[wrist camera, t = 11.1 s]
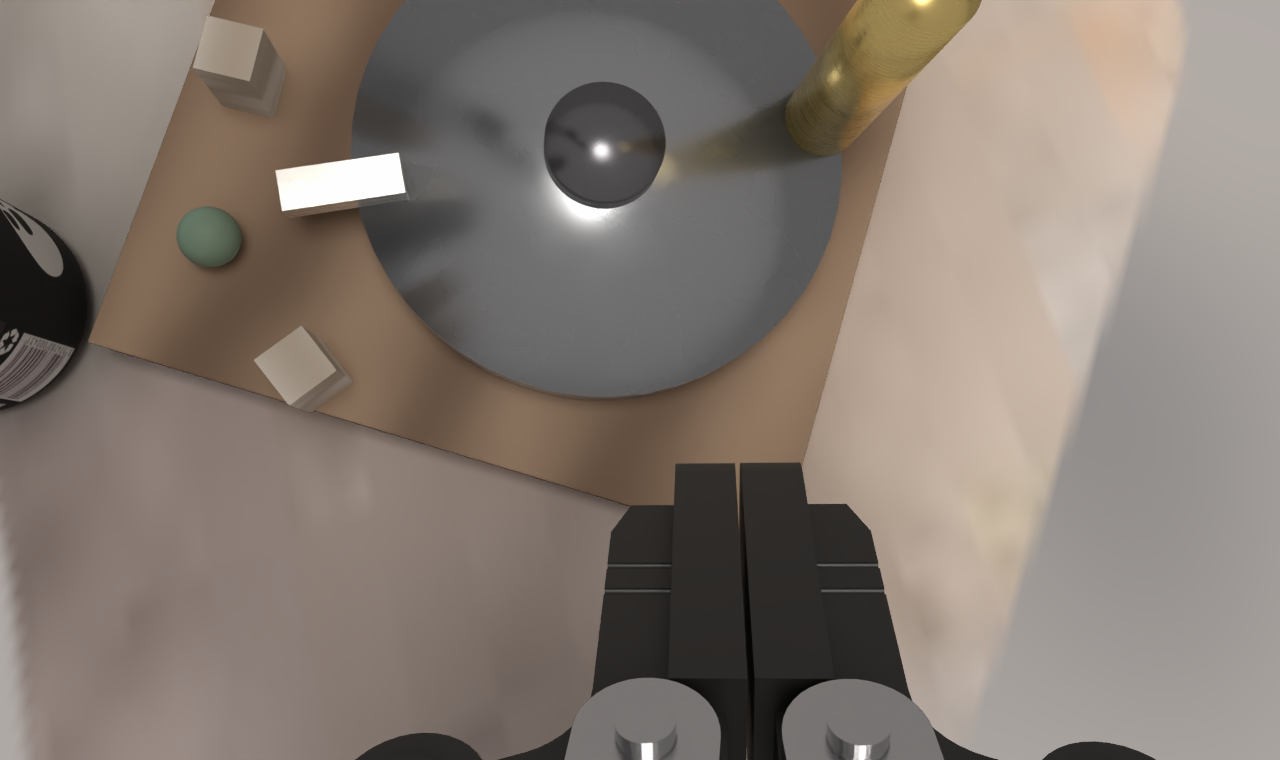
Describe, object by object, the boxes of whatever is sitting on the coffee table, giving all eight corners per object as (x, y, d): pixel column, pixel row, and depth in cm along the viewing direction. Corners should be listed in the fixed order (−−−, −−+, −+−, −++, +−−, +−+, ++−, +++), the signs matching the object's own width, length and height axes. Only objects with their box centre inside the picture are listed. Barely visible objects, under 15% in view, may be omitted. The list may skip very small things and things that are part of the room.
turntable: (111, 353, 34) (41, 331, 29) (317, -201, 36) (284, -310, 31) (763, 550, 35) (802, 560, 30) (914, 6, 38) (973, -66, 33)
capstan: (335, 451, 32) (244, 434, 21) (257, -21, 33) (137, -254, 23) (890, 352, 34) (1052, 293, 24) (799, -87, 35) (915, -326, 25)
